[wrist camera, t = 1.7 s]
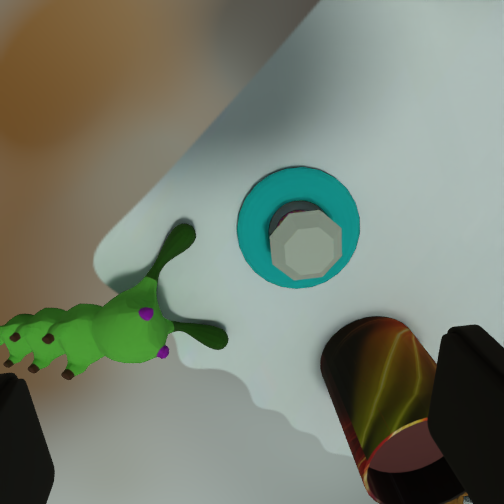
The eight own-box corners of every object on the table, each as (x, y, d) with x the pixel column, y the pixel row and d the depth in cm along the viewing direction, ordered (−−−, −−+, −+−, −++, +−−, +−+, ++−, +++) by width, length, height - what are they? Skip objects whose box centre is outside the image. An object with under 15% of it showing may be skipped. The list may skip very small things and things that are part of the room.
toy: (115, 292, 24) (196, 219, 32) (-68, 288, 31) (35, 229, 39) (177, 435, 29) (233, 341, 37) (7, 402, 37) (84, 330, 45)
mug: (431, 405, 44) (506, 516, 33) (308, 391, 42) (345, 507, 31) (470, 329, 40) (568, 427, 30) (337, 309, 38) (391, 408, 27)
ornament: (397, 275, 32) (282, 333, 33) (376, 252, 36) (273, 305, 37) (344, 152, 28) (213, 223, 29) (327, 141, 32) (212, 204, 33)
